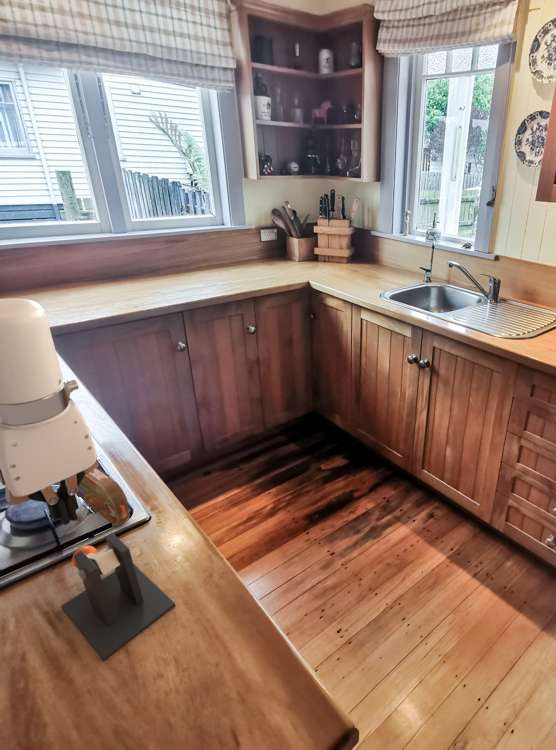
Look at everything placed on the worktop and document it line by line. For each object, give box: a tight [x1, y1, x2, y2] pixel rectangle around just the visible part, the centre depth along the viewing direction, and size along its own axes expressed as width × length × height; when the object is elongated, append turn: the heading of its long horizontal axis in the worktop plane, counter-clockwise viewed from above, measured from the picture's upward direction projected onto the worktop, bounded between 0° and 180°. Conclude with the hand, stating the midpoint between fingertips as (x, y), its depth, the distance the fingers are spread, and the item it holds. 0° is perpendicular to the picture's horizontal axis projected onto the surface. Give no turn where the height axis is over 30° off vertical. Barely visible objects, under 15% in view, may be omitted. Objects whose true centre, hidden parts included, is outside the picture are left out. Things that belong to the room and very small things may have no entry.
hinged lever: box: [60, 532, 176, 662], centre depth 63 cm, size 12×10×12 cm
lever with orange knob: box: [71, 545, 120, 576], centre depth 65 cm, size 12×3×3 cm, turn 53°
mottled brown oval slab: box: [75, 467, 131, 529], centre depth 81 cm, size 15×3×8 cm, turn 55°
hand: (66, 517), depth 64 cm, fingers closed
